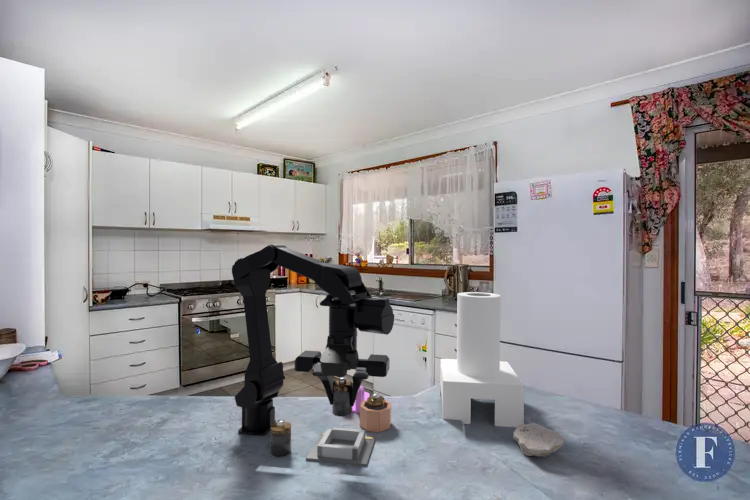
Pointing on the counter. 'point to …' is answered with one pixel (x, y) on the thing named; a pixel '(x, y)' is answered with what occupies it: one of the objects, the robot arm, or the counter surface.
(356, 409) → the bracket
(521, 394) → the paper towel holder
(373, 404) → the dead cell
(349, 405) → the cell
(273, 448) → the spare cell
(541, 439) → the fossil
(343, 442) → the cradle
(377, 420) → the cup
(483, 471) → the counter surface
